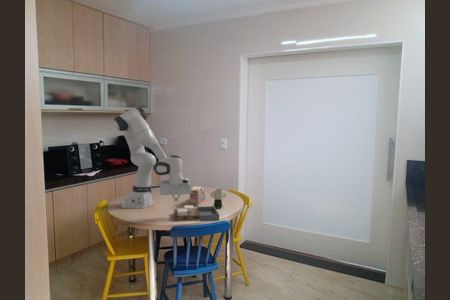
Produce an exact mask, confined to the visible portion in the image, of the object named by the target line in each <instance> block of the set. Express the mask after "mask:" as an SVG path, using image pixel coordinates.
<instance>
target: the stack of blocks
mask: <svg viewBox="0 0 450 300" xmlns="http://www.w3.org/2000/svg"><path fill="white" fill-rule="evenodd" d="M205 197H206V188H205V187H203V186H199V185H198V186H197V185H195V186H193V187H191V194H189V205H193V206H194V207H196V206H197V207H200V205H201V204H202V203H203V202H204V201H205V200H206V198H205ZM197 207H196V208H197Z"/></svg>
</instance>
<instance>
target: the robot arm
mask: <svg viewBox="0 0 450 300" xmlns="http://www.w3.org/2000/svg"><path fill="white" fill-rule="evenodd" d="M147 116H148V115H147V112H146V111H145V109H144V108H142V107H135V108H133V109H130V110H127V111H125V112H124V113H121V114H119V115H117V116H115V117H114V118H113V124H114V127H115V128H116V130H117V131H119V132H123V136H124V139H125V140H126V143H127V145H128V148H129V151H130V160H131V161H130V162H131V163H132V164H133V165H135V166H138V168H137V172H136V174H135V180H134V181H135V182H134V183H135V184H133V185H132V191H130V193H128V194H127V195H126V196H125V198H124V201H123V202H122V203H121V208H122V209H124V208H125V209H145V208H147V207H151V206H153V205H154V202H153V196H152V192H153V187H152V172H153V171H154V173H155V174H156V175H158V176H167V175H168V179H167V180H161V181H159V189H160V190H159V194H160V195H161V196H167V195H168V196H171V197H172V198H173V202H178V201H179V198H180V196H181V195H190V194H191V189H192V186H191V183H190V179H189V178H188V177H185V176H183V161H182V158H181V156H179V155H177V154H169V156H168V154H166V152H165V150H164V149H163V147H162V145H161V144H160V142H159V141H158V139H157V138H156V136H155V134H154V132H153V131H152V129H151V127H150V125H149V123H148V122H147V118H148V117H147ZM145 148H148V149H150V150H151V151H152V152H153V154H154V155H153V154H152V153H150V152H147V151H146V150H145ZM157 159H158V161H157ZM175 195H177V197H175Z"/></svg>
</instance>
